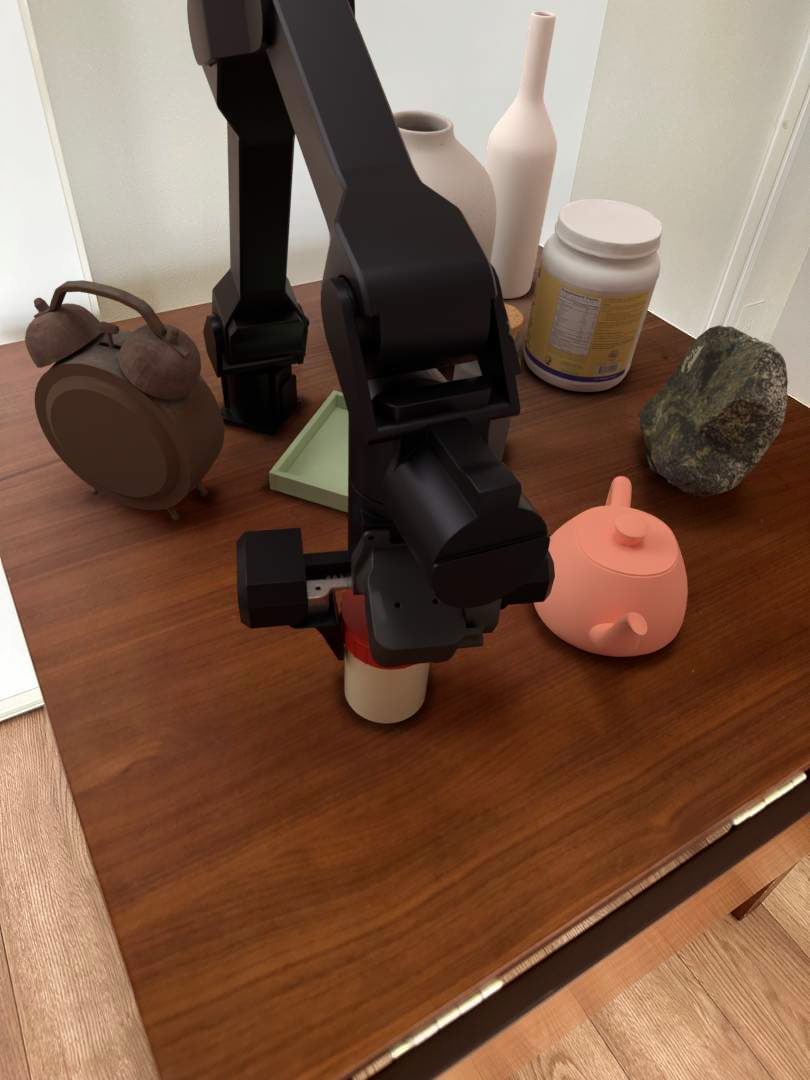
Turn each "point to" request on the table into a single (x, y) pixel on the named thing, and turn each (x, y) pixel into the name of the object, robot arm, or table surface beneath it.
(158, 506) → the alarm clock
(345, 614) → the jar lid
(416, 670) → the jar
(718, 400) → the stone
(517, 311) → the bottle
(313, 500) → the tray
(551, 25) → the bottle
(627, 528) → the teapot
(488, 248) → the vase
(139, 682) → the table surface
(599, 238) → the supplement tub
